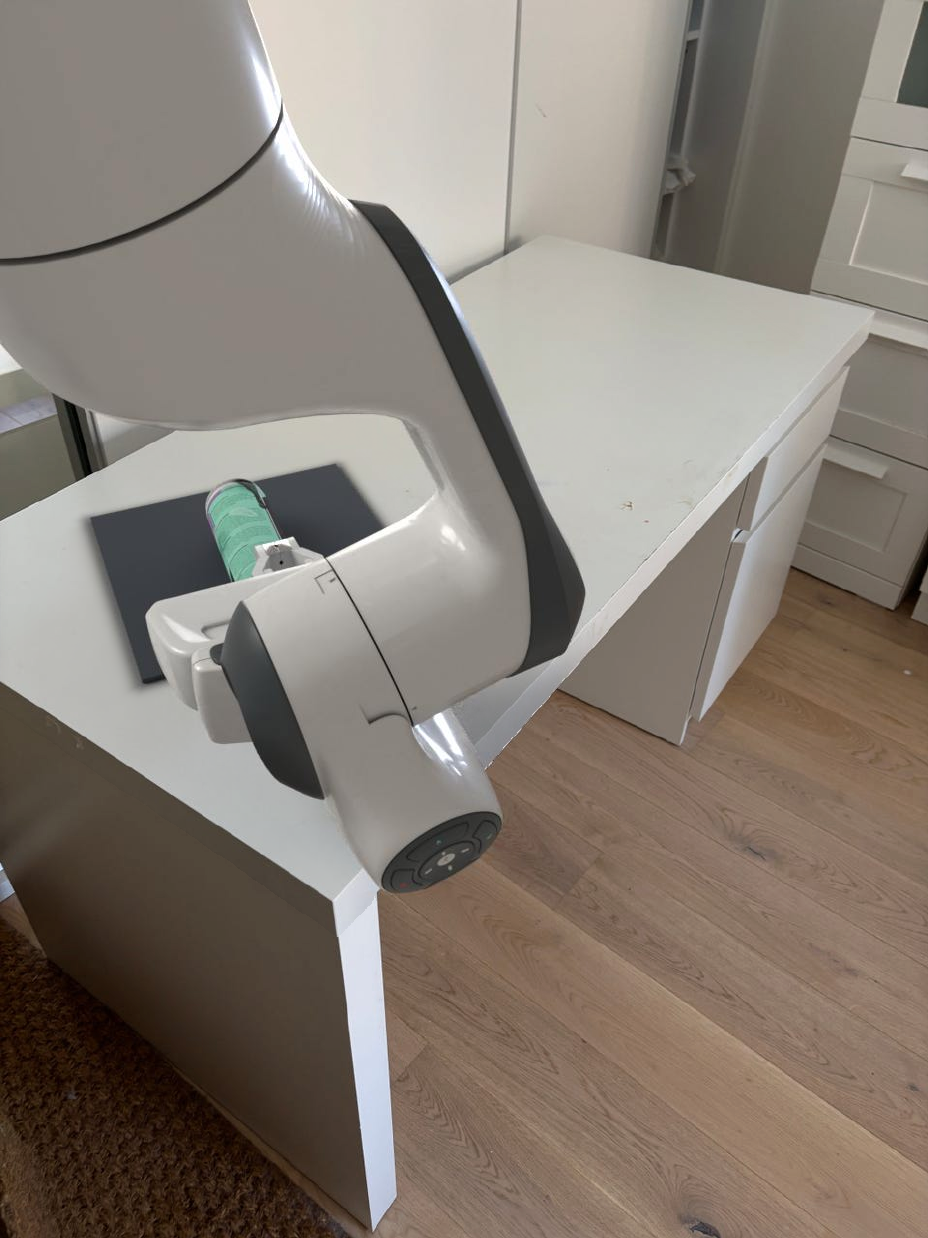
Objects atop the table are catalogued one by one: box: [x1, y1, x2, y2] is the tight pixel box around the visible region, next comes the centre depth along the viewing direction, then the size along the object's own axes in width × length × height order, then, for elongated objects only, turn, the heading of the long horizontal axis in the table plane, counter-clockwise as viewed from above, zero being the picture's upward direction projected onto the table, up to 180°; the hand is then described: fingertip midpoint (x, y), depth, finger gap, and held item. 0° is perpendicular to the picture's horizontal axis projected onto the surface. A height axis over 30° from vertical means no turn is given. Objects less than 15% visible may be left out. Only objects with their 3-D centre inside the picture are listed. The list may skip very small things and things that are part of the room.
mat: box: [89, 463, 383, 684], centre depth 85 cm, size 24×24×1 cm
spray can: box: [205, 477, 286, 582], centre depth 81 cm, size 6×6×20 cm
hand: (273, 549), depth 70 cm, fingers closed
